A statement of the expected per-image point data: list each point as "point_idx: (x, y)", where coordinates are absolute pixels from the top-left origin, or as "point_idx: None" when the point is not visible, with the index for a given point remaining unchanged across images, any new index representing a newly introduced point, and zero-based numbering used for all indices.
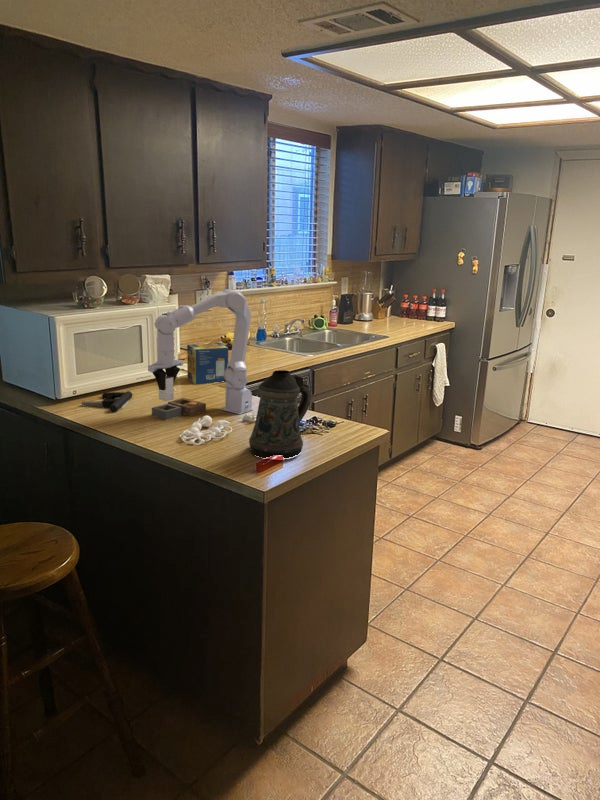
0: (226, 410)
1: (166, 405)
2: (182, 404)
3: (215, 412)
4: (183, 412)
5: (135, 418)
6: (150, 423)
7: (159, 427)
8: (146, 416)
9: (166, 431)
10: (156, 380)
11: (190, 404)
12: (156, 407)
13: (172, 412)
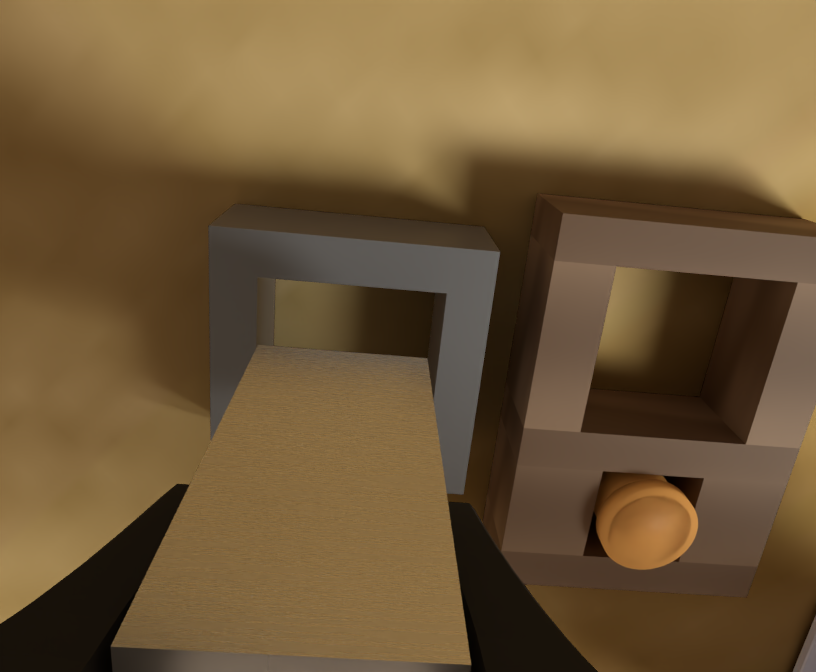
0: (797, 669)
1: (439, 289)
2: (574, 433)
3: (720, 609)
4: (499, 448)
5: (21, 108)
6: (40, 372)
7: (30, 513)
8: (174, 163)
9: (8, 617)
10: (29, 604)
11: (598, 527)
12: (263, 266)
13: None
